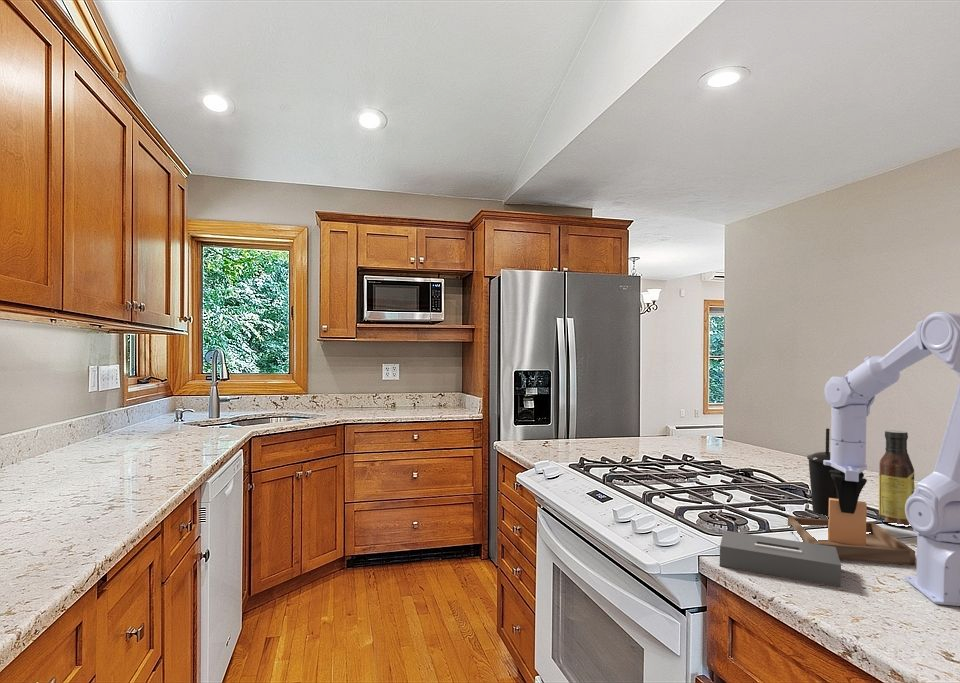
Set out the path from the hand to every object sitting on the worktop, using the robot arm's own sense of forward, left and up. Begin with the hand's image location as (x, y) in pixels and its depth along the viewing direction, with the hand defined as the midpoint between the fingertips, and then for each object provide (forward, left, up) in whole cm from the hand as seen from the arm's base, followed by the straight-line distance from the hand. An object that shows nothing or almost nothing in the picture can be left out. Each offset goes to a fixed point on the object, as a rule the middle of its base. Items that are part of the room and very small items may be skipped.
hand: (846, 510), depth 112 cm
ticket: (0, 0, -6) cm, 6 cm away
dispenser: (-14, +16, -7) cm, 22 cm away
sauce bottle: (+17, -16, -7) cm, 24 cm away
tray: (0, 0, -7) cm, 7 cm away
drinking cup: (+16, -2, -7) cm, 18 cm away
